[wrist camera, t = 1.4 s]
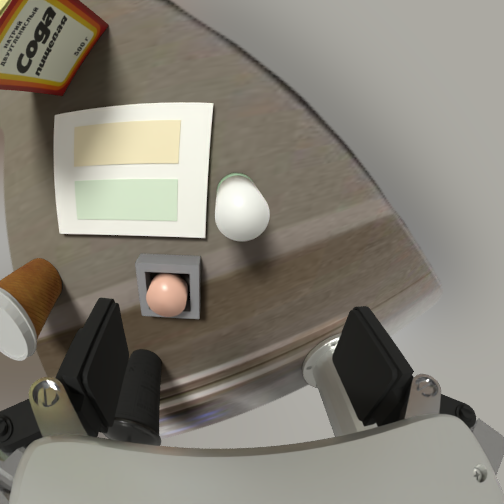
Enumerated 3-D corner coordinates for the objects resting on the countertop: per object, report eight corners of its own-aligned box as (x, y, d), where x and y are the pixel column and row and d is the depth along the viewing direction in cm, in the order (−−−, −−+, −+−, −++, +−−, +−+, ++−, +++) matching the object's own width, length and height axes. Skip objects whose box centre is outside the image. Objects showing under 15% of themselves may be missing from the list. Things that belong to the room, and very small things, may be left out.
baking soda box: (62, 95, 21) (-39, 88, 7) (31, 79, 19) (-62, 71, 4) (108, 25, 18) (34, -33, 4) (73, 13, 16) (-2, -32, 2)
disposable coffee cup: (32, 232, 27) (-24, 276, 16) (82, 279, 30) (39, 338, 19) (14, 277, 29) (-29, 324, 18) (58, 318, 32) (24, 374, 21)
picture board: (213, 104, 24) (213, 103, 23) (205, 235, 30) (205, 238, 29) (58, 115, 22) (54, 115, 21) (62, 231, 27) (59, 233, 27)
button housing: (200, 256, 31) (199, 265, 29) (200, 307, 34) (199, 318, 31) (140, 253, 30) (135, 262, 28) (146, 304, 33) (142, 315, 30)
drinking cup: (176, 352, 36) (163, 482, 18) (164, 381, 39) (152, 495, 21) (125, 334, 34) (87, 460, 16) (119, 366, 37) (90, 477, 19)
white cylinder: (257, 173, 28) (272, 190, 20) (253, 210, 29) (266, 242, 21) (218, 171, 27) (216, 187, 19) (215, 208, 29) (213, 240, 21)
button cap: (187, 272, 30) (185, 283, 27) (188, 305, 31) (186, 318, 29) (149, 270, 29) (144, 281, 27) (152, 303, 31) (148, 315, 29)
